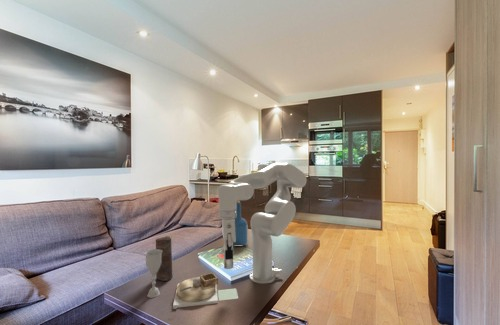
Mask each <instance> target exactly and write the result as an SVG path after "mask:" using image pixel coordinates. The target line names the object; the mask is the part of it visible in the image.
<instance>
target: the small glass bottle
mask: <svg viewBox="0 0 500 325" xmlns="http://www.w3.org/2000/svg"><path fill="white" fill-rule="evenodd" d="M227 242H228V241H227ZM227 245H228V244H227ZM232 247H233V248H234V246H233V240H232ZM225 250H226V243H224V242H223V268H224V269H225V270H232V269H234V266H235V265H234V258H233V259H228V260H226V259H225Z"/></svg>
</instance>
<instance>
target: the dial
mask: <svg viewBox="0 0 500 325" xmlns="http://www.w3.org/2000/svg"><path fill="white" fill-rule="evenodd" d="M179 283H180V284H179V285H178V284H177V286H178V287H176V290H177V296H178V297H179V298H180V299H181V300H184V301H191V302H193V301H201V300H204V299H207V298H209V297H210V296H212V295H213V294H214V292H215V290H216V286H217V285H219V277H218V276H217V275H216V274H215V273H214V272H209V273H205V274H201V275H199V276H197V277H194V276H193V277H190V278H187V279H185V280H183V281H181V282H179Z"/></svg>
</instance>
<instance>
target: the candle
mask: <svg viewBox="0 0 500 325" xmlns="http://www.w3.org/2000/svg"><path fill="white" fill-rule="evenodd" d="M172 247H173V246H172V237H171V236H168V235H167V236H164V237H158V238H155V249H160V250H162V251H163V252H162V254H161V265H160V268H159V270H158V272H157V273H156V274H155V278H156V279H157V280H160V281H163V282H165V281H166V282H168V281H171V279H172V278H173V255H172V254H173V252H172Z"/></svg>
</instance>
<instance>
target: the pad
mask: <svg viewBox="0 0 500 325" xmlns="http://www.w3.org/2000/svg"><path fill="white" fill-rule="evenodd" d="M238 295H239V294H238V290H237V288H235V287H234V288H228V289H227V288H226V289H217V297H218V302H219V301H228V300H229V301H230V300H237V299H239V296H238Z"/></svg>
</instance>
